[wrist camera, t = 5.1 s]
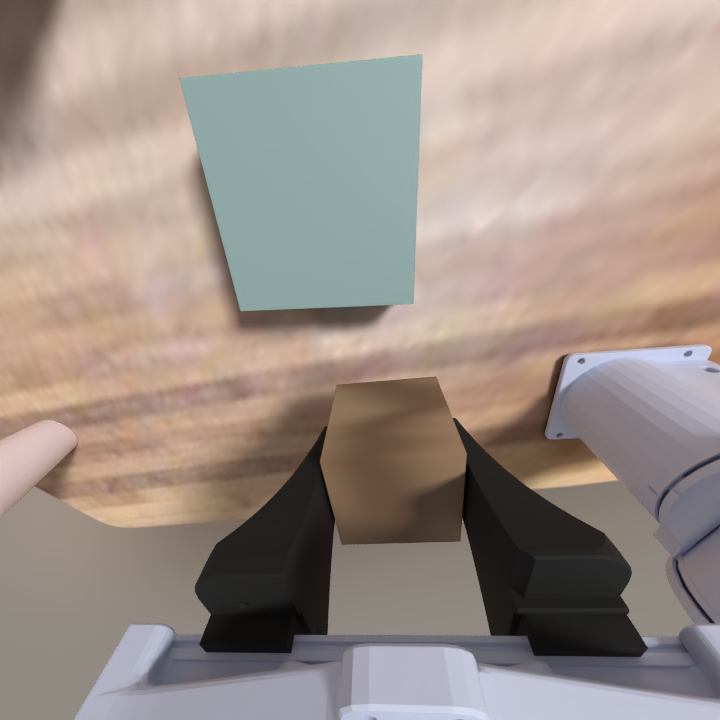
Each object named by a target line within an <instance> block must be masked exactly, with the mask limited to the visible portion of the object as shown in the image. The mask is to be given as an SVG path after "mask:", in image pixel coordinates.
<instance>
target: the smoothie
mask: <svg viewBox="0 0 720 720" xmlns="http://www.w3.org/2000/svg"><path fill="white" fill-rule="evenodd" d="M77 444H78V439H77V437H76V435H75V434H74V433H73V431H72V430H70V429H69V428H68V427H67V426H65V425H63V424H61V423H59V422H56V421H53V420H42V421H39V422H37V423H35V424H33V425H31V426H29V427H27V428H25V429H23V430H21V431H19V432H16V433H14V434H12V435H10V436H8V437H6V438H4V439H2V440H0V518H1V517H2V516H3V515H4V514H5V513H6V512H8V511H9V510H10V508H12V507H13V506H14V505H15V504H16V503H17V502H18V501H19V500H20V499H21V498H22V497H23V496H24V495H25V494H26V493H27V492H28V491H29V490H31V489H32V488H33V487H34V486H35V485H36V484H37V483H38V482H39V481H40V480H41V479H42V478H43V477H44V476H45V475H46V474H47V473H48V472H50V471H51V470H52V469H53V468H54V467H55V466H56V465H57V464H58V463H59V462H60V461H61V460H62V459H63V458H64V457H65V456H66V455H67V454H68V453H69V452H71V451H72V450H73V449H74V448H75V447H76V446H77Z"/></svg>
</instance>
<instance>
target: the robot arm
mask: <svg viewBox="0 0 720 720" xmlns="http://www.w3.org/2000/svg"><path fill="white" fill-rule="evenodd" d="M711 351H712V349H711V347H710V346H707V345H704V344H699V345H685V346H671V347H657V348H643V349H629V350H615V351H601V352H588V353H574V354H569V355H567V356H566V357H565V359H564V361H563V365H562V369H561V373H560V376H559V380H558V384H557V388H556V392H555V396H554V399H553V403H552V407H551V411H550V415H549V419H548V422H547V426H546V430H545V436H546V437H547V438H548V439H574V438H580V439H581V440H582V441H583V442H584V444H585V445H586V446H587V447H588V448H589V449H590V450H591V451H592V452H593V453H594V454H595V455H596V456H597V457H598V458H599V460H600V461H601V462H602V463H603V464H604V465H605V466H606V467H607V468H608V469H609V470H610V471H611V472H612V473H613V474H614V475H615V477H616V478H617V479H618V480H619V481H620V482H621V483H622V484H623V485H624V486H625V487H626V488H627V489H628V490H629V491H630V493H631V494H632V495H633V496H634V497H635V498H636V499H637V500H638V501H639V502H640V503H641V504H642V505H643V506H644V507H645V509H646V510H647V511H648V512H649V513H650V514H651V515H652V516H653V517H654V518H655V519H656V520H657V521H658V522H659V523H660V525H659V527H658V529H657V530H656V531H655V532H654V534H653V535H654V536H655V537H656V538H657V539H658V541H659V542H660V543H661V544H662V545H663V546H664V548H665V549H666V550H667V551H668V552H669V553H670V554H671V555H670V556H669V557H668V559H667V562H666V574H667V578H668V581H669V583H670V585H671V588H672V590H673V592H674V594H675V595H676V597H677V598H678V600H679V602H680V603H681V605H682V607H683V608H684V609H685V611H686V612H687V614H688V615H689V617H690V618H691V619H692V621H693V622H694V623H695V624H692V625H689V626H686V627H685V628H683V629H682V630H681V632H680V633H679V637H644V636H643V637H641V636H640V635H639V633H638V632H637V630H636V629H635V627H634V625H633V624H632V622H631V621H630V619H629V618H628V616H627V614H628V613H629V609H628V607H627V605H626V604H625V602H624V601H623V599H622V598H621V596H620V595H621V593H622V592H623V590H624V589H625V587H626V585H627V584H628V582H629V580H630V577H631V574H632V571H631V567H630V565H629V564H628V563H627V561H626V560H625V559H624V558H623V556H622V555H621V553H620V552H619V551H618V549H617V548H616V547H615V546H614V545H613V543H612V542H611V541H610V540H609V539H608V537H607V536H606V535H605V534H604V533H603V532H601V531H599V530H597V529H595V528H594V527H592V526H590V525H588V524H586V523H585V522H583V521H581V520H579V519H577V518H575V517H573V516H571V515H570V514H568V513H567V512H565V511H563V510H562V509H560V508H558V507H557V506H555V505H554V504H552V503H550V502H549V501H547V500H546V499H544V498H543V497H541V496H540V495H539V494H537V493H536V492H534V491H533V490H531V489H530V488H528V487H527V486H526V485H524V484H523V483H522V482H520V481H519V480H518V479H516V478H515V477H514V476H513V475H511V474H510V473H509V472H508V471H507V470H505V469H504V468H503V467H502V466H501V465H500V464H499V463H498V462H496V461H495V460H494V459H493V458H492V457H491V456H490V455H489V454H488V453H487V452H486V451H485V450H484V449H483V448H482V447H481V446H480V445H479V444H478V443H477V442H476V441H475V440H474V439H473V438H472V437H471V435H470V434H469V433H468V432H467V431H466V430H465V429H464V428H463V426H462V425H461V424H460V423H459V422H458V420H457V419H456V418H453V420H454V423H455V425H456V428H457V430H458V433H459V435H460V438H461V440H462V443H463V446H464V448H465V451H466V453H467V458H466V471H465V485H464V498H463V512H462V518H463V521H464V524H465V528H466V531H467V535H468V539H469V543H470V547H471V551H472V555H473V559H474V563H475V567H476V571H477V576H478V580H479V584H480V589H481V592H482V597H483V602H484V606H485V610H486V615H487V620H488V624H489V629H490V633H491V636H422V635H421V636H420V635H419V636H418V635H416V636H415V635H414V636H413V635H402V636H401V635H399V636H398V635H327V631H328V609H329V589H330V588H329V587H330V573H331V558H332V545H333V532H334V524H335V517H334V513H333V510H332V506H331V502H330V498H329V494H328V491H327V487H326V483H325V479H324V475H323V472H322V468H321V464H320V459H321V455H322V450H323V446H324V441H325V436H326V432H327V427H328V426H326V427H325V428H324V429H323V431H322V433H321V435H320V436H319V438H318V440H317V441H316V443H315V444H314V446H313V447H312V449H311V450H310V452H309V453H308V455H307V456H306V458H305V459H304V461H303V462H302V463H301V465H300V466H299V467H298V469H297V470H296V471H295V472H294V474H293V475H292V476H291V477H290V479H289V480H288V481H287V482H286V483H285V484H284V486H283V487H282V488H281V489H280V490H279V491H278V492H277V493H276V494H275V495H274V496H273V497H272V498H271V499H270V500H269V501H268V502H267V503H266V504H265V505H264V506H263V507H262V508H261V509H260V510H259V511H258V512H256V513H255V514H254V515H253V516H252V517H251V518H250V519H248V520H247V521H246V522H245V523H244V524H242V525H241V526H240V527H239V528H237V529H236V530H235V531H233V532H232V533H231V534H229V535H228V536H227V537H225V538H224V539H223V540H221V541H220V542H218V543H217V544H216V546H215V547H214V549H213V551H212V553H211V554H210V556H209V558H208V560H207V562H206V564H205V566H204V568H203V570H202V573H201V575H200V577H199V579H198V581H197V583H196V585H195V592H196V595H197V597H198V599H199V600H200V601H201V602H202V604H203V605H204V606H205V607H206V609H207V610H208V611H209V612H210V614H211V616H210V619H209V621H208V624H207V626H206V629H205V631H204V634H203V635H202V634H201V635H200V634H199V635H198V634H197V635H195V634H194V635H193V634H191V635H190V634H185V635H184V634H176V633H175V631H174V630H173V628H172V627H170V626H168V625H166V624H161V623H133V624H131V625H130V626H129V628H128V629H127V631H126V633H125V635H124V636H123V638H122V640H121V641H120V643H119V644H118V646H117V648H116V649H115V651H114V653H113V655H112V656H111V658H110V660H109V661H108V663H107V665H106V666H105V668H104V670H103V671H102V673H101V675H100V676H99V678H98V680H97V681H96V683H95V685H94V686H93V688H92V690H91V691H90V693H89V695H88V696H87V698H86V700H85V701H84V703H83V705H82V707H81V708H80V710H79V711H78V713H77V715H76V717H75V718H74V720H720V365H718V364H716V363H713V362H711V361H709V360H707V359H708V357H709V355H710V353H711ZM581 358H582V359H581ZM579 359H581V360H580V361H579V362H578V360H579Z"/></svg>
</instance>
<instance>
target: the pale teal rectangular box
mask: <svg viewBox="0 0 720 720" xmlns="http://www.w3.org/2000/svg"><path fill="white" fill-rule="evenodd" d="M179 79H180V83H181V87H182V91H183V94H184V98H185V102H186V106H187V110H188V113H189V117H190V121H191V125H192V129H193V132H194V136H195V140H196V144H197V148H198V151H199V155H200V159H201V163H202V167H203V170H204V174H205V178H206V182H207V186H208V189H209V193H210V197H211V201H212V205H213V208H214V212H215V216H216V220H217V224H218V227H219V231H220V235H221V239H222V243H223V246H224V250H225V254H226V258H227V262H228V265H229V269H230V273H231V277H232V281H233V284H234V288H235V292H236V296H237V300H238V303H239V307H240V311H256V310H281V309H305V308H329V307H353V306H378V305H402V304H413V303H414V275H415V247H416V219H417V191H418V164H419V136H420V108H421V80H422V54H421V55H411V56H400V57H390V58H380V59H370V60H360V61H350V62H340V63H329V64H319V65H309V66H299V67H289V68H279V69H268V70H258V71H248V72H238V73H228V74H218V75H208V76H197V77H187V78H179Z"/></svg>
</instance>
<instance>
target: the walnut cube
mask: <svg viewBox="0 0 720 720" xmlns="http://www.w3.org/2000/svg"><path fill="white" fill-rule="evenodd" d="M466 458H467V453H466V451H465V448H464V446H463V443H462V440H461V438H460V435H459V433H458V430H457V428H456V425H455V423H454V420H453V418H452V415H451V413H450V410H449V408H448V405H447V403H446V400H445V398H444V395H443V393H442V390H441V388H440V385H439V383H438V380H437V378H436V377H426V378H413V379H401V380H389V381H377V382H365V383H353V384H341V385H337V386H336V391H335V395H334V400H333V404H332V409H331V414H330V418H329V423H328V427H327V432H326V436H325V441H324V446H323V450H322V455H321V459H320V464H321V468H322V472H323V475H324V479H325V483H326V487H327V491H328V494H329V498H330V502H331V506H332V510H333V513H334V517H335V521H336V525H337V528H338V532H339V536H340V540H341V543H342V545H345V544H378V543H379V544H381V543H416V542H417V543H418V542H455V541H460V537H461V524H462V512H463V498H464V485H465V471H466Z"/></svg>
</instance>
